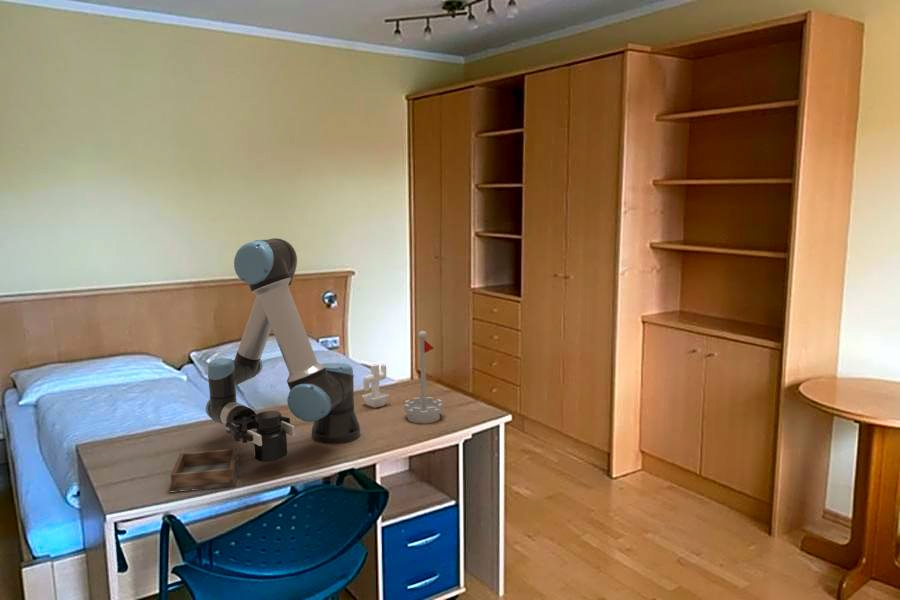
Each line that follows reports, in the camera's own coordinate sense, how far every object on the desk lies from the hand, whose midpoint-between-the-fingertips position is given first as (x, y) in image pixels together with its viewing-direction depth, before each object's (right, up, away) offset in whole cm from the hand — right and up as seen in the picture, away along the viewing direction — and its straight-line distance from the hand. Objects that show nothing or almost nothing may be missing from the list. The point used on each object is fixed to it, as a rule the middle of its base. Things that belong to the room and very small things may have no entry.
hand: (277, 435), depth 179 cm
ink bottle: (-3, -7, +4) cm, 9 cm away
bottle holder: (-19, -11, 0) cm, 22 cm away
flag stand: (+37, -4, +47) cm, 60 cm away
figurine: (+20, -2, +61) cm, 64 cm away
